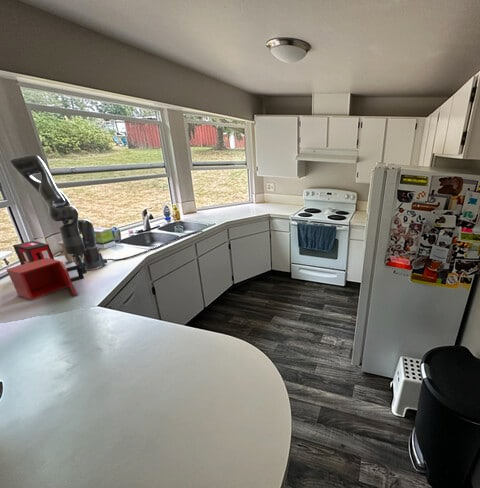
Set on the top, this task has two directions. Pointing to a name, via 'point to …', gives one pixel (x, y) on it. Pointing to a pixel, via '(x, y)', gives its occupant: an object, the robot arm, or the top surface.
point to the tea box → (104, 237)
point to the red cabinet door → (70, 280)
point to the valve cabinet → (37, 278)
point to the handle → (67, 256)
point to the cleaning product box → (32, 251)
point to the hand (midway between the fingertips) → (83, 272)
